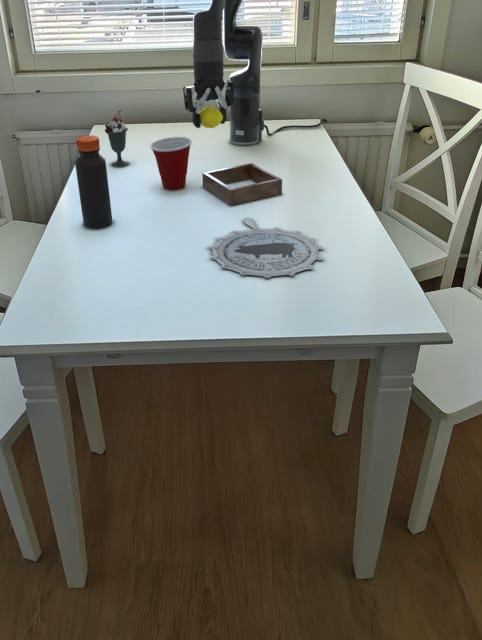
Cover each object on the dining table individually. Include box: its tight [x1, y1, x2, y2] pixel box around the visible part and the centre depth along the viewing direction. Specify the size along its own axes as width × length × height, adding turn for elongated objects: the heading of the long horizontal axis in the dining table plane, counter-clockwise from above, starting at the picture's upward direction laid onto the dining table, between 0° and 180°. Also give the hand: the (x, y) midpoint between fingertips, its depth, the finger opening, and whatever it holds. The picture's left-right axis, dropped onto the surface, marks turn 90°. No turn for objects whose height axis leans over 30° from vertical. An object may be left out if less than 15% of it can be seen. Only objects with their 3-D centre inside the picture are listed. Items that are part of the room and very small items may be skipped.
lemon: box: [199, 106, 223, 129], centre depth 167 cm, size 7×5×5 cm
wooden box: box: [202, 162, 283, 207], centre depth 164 cm, size 15×15×4 cm
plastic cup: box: [149, 136, 193, 191], centre depth 165 cm, size 11×11×12 cm
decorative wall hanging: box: [209, 217, 325, 279], centre depth 137 cm, size 24×1×30 cm
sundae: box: [104, 110, 129, 168], centre depth 181 cm, size 7×7×15 cm
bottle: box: [74, 134, 113, 230], centre depth 144 cm, size 7×7×20 cm
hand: (209, 125), depth 168 cm, fingers closed on lemon, 6 cm apart
